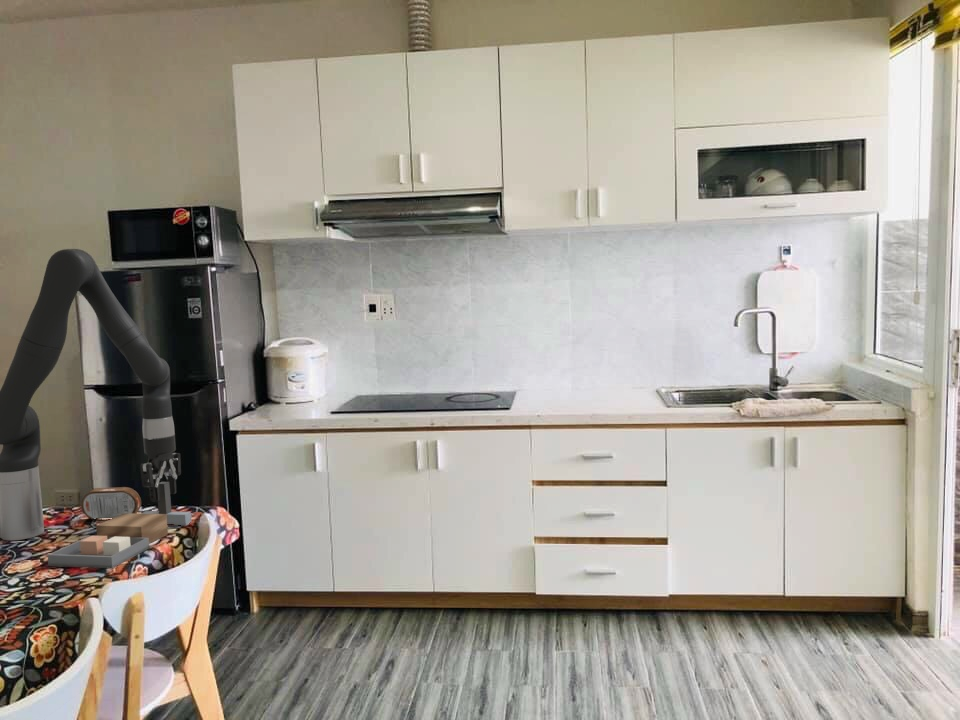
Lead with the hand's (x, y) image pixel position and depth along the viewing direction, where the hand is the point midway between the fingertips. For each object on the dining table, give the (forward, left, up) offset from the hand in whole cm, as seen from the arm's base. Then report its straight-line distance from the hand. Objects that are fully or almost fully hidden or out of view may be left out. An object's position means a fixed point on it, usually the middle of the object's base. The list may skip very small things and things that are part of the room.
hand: (163, 497), depth 194 cm
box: (0, -25, -7) cm, 26 cm away
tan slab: (0, -13, -7) cm, 15 cm away
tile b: (+3, -23, -3) cm, 24 cm away
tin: (-18, +3, -7) cm, 20 cm away
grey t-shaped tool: (0, 0, -7) cm, 7 cm away
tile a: (-3, -23, -3) cm, 23 cm away
